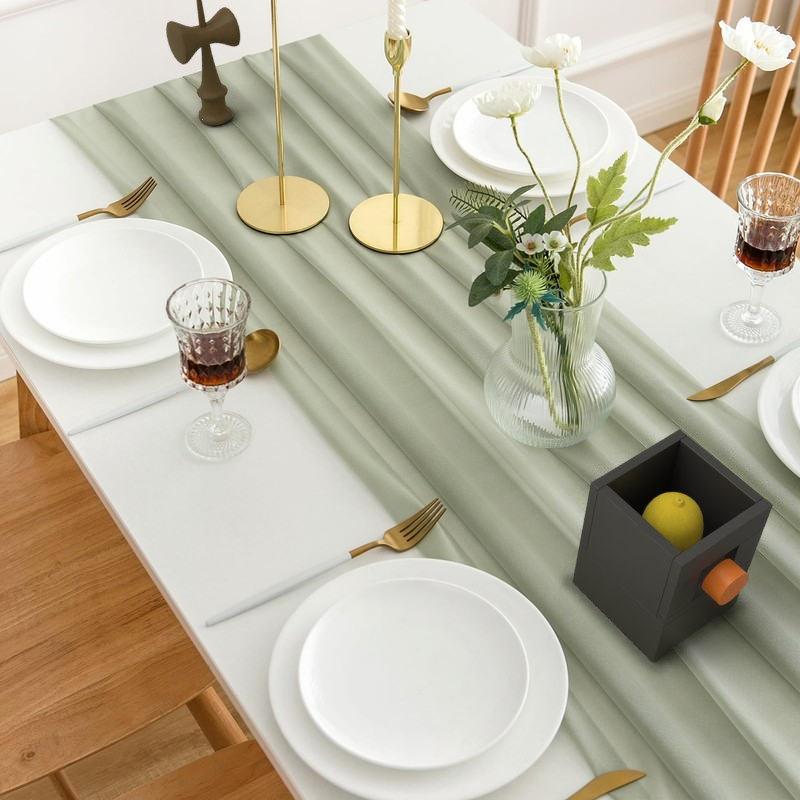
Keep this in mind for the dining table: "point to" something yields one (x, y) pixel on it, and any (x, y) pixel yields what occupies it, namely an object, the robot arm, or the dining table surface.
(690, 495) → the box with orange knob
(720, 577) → the power button
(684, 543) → the lemon
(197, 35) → the kendama
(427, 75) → the dining table surface
